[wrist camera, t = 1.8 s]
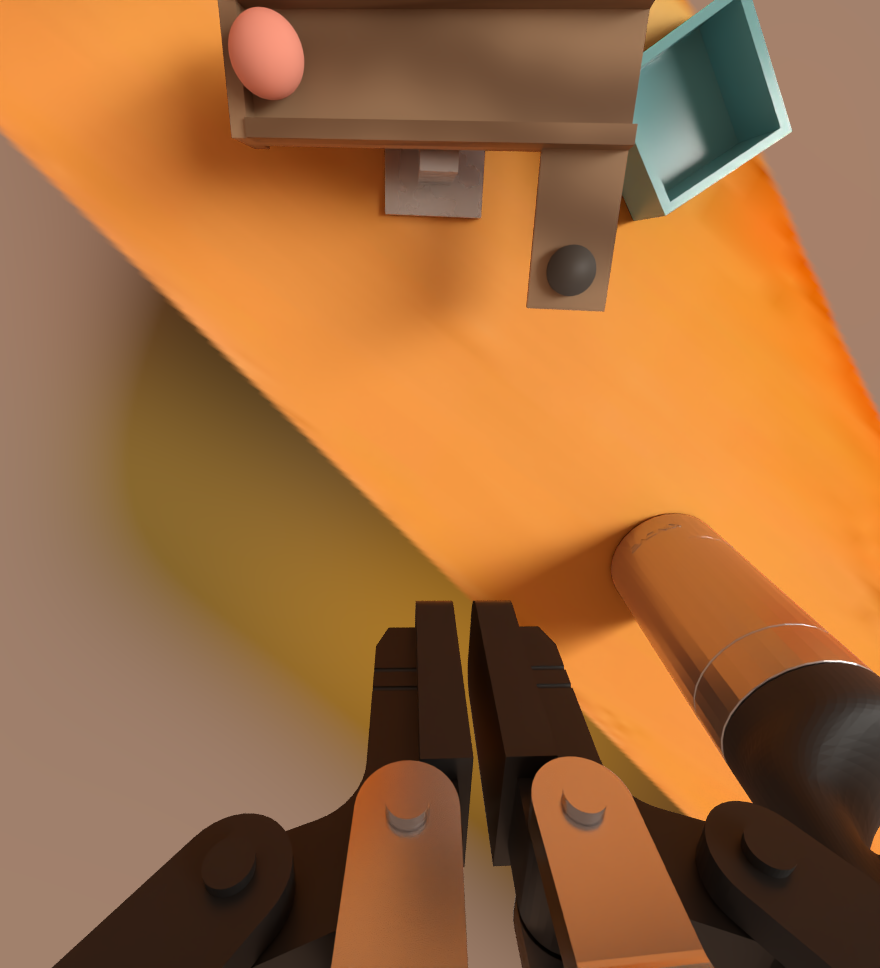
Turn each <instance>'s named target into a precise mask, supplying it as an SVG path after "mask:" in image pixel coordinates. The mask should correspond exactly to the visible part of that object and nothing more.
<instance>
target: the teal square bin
mask: <svg viewBox="0 0 880 968" xmlns="http://www.w3.org/2000/svg"><path fill="white" fill-rule="evenodd" d="M632 124H638V126H637V132H636V139H635V145H634V146H633V147H632V148H630V149H629V150H628V157H627V163H626V170H625V177H624V183H623V190H622V196H623V198H624V200H625V202H626V205H627V207H628V209H629V212H630V214H631V216H632V218H633V221H637V220H643V219H649V218H655V217H661V216H666V215H667V214H669V213H670V212H672V211H673V210H675V209H676V208H678V207H679V206H681V205H682V204H684V203H685V202H687V201H688V200H690V199H691V198H693V197H694V196H696V195H697V194H699V193H700V192H702V191H703V190H705V189H706V188H708V187H709V186H711V185H712V184H714V183H715V182H717V181H718V180H720V179H721V178H723V177H724V176H726V175H727V174H729V173H730V172H732V171H733V170H735V169H736V168H738V167H739V166H741V165H742V164H744V163H745V162H747V161H748V160H750V159H751V158H753V157H754V156H756V155H757V154H759V153H760V152H762V151H763V150H765V149H766V148H768V147H769V146H771V145H772V144H774V143H775V142H777V141H778V140H779V139H781V138H783V137H785V136H786V135H787V134H789V133H790V132H792V129H791V125H790V122H789V119H788V116H787V112H786V109H785V106H784V102H783V99H782V96H781V93H780V90H779V86H778V83H777V80H776V76H775V73H774V70H773V67H772V63H771V60H770V56H769V53H768V50H767V47H766V43H765V40H764V37H763V33H762V30H761V27H760V24H759V20H758V17H757V14H756V11H755V7H754V4H753V1H752V0H714V1H713V2H711V3H710V4H709V5H707V6H706V7H705V8H703V9H702V10H701V11H699V12H698V13H696V14H695V15H694V16H692V17H691V18H690V19H688V20H687V21H685V22H684V23H683V24H681V25H680V26H679V27H677V28H676V29H674V30H673V31H672V32H670V33H669V34H668V35H666V36H665V37H663V38H662V39H661V40H659V41H658V42H657V43H655V44H654V45H653V46H651V47H650V48H648V49H647V50H646V51H644V52H643V57H642V63H641V70H640V77H639V83H638V90H637V97H636V103H635V110H634V117H633V123H632Z"/></svg>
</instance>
